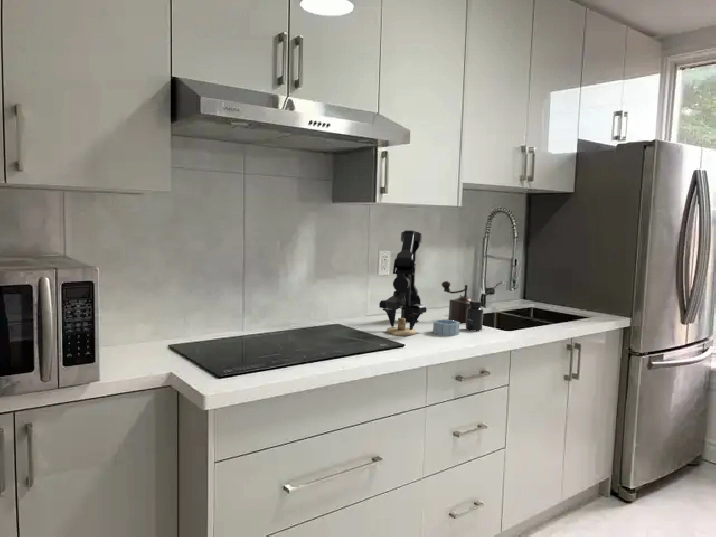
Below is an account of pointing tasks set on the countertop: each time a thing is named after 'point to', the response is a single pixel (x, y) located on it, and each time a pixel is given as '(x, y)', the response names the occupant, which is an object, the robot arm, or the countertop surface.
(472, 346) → the countertop surface
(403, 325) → the lid
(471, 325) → the supplement bottle
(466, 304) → the manual coffee grinder
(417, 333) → the mat
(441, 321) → the bowl
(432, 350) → the countertop surface
